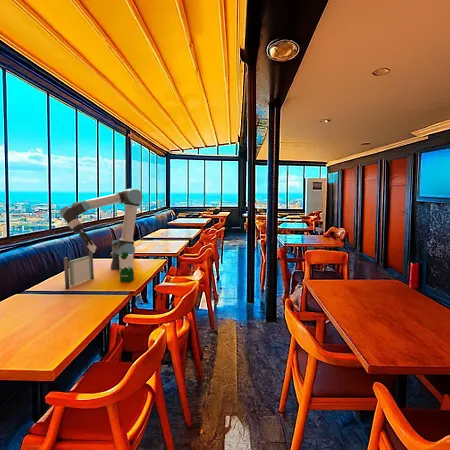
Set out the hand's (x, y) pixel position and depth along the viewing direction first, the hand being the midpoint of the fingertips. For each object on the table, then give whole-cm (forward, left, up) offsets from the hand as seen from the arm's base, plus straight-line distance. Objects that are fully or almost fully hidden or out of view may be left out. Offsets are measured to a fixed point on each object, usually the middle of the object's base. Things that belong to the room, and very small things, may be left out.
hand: (94, 250), depth 239 cm
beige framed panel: (+13, +5, -19) cm, 23 cm away
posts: (+13, +6, -20) cm, 25 cm away
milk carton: (-11, +23, -20) cm, 33 cm away
